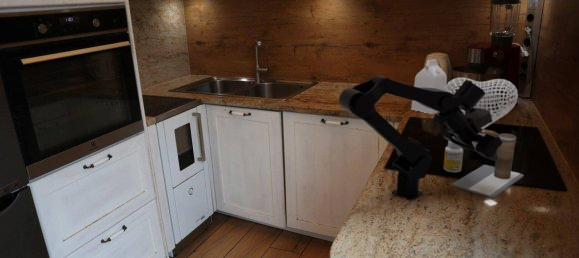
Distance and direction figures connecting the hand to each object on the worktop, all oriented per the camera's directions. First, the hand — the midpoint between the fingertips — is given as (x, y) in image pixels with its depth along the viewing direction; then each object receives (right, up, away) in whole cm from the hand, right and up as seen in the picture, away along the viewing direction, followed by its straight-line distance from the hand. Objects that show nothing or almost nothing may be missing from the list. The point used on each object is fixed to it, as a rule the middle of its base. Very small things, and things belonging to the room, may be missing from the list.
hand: (484, 154), depth 123 cm
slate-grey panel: (+2, -8, +3) cm, 9 cm away
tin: (+11, -1, +28) cm, 30 cm away
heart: (+20, +7, +52) cm, 56 cm away
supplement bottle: (-5, -6, +12) cm, 14 cm away
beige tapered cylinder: (+7, -7, +4) cm, 11 cm away
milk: (+11, +15, +83) cm, 85 cm away
